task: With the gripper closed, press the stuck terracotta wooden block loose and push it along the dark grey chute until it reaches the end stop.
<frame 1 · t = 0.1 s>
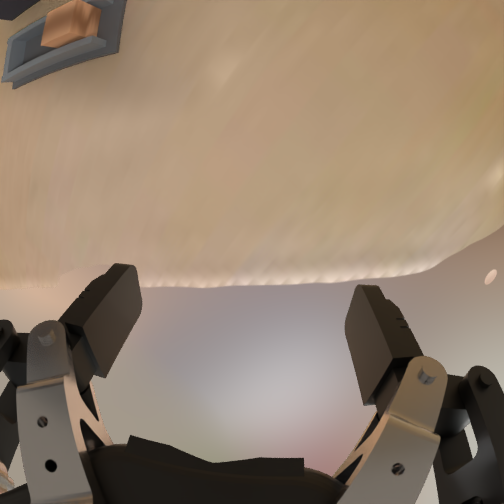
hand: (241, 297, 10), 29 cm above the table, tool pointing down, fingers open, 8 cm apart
chute: (61, 40, 26), on the table
block: (71, 25, 22), point 4 cm above the table, slide at 0.0 cm
dark grey upright box: (29, 4, 20), on the table
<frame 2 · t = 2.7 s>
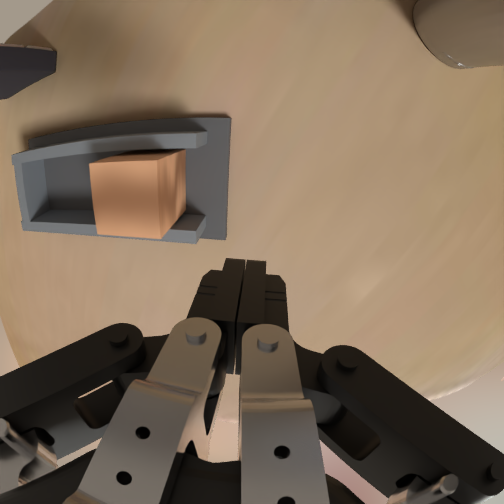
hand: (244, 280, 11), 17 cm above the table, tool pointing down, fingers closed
chute: (110, 178, 26), on the table
block: (141, 188, 22), point 4 cm above the table, slide at 0.0 cm
dark grey upright box: (31, 75, 20), on the table
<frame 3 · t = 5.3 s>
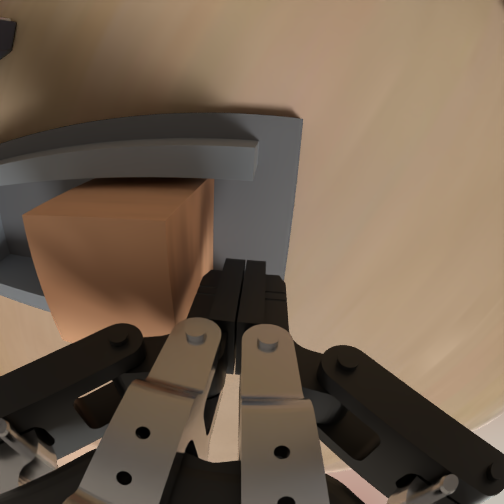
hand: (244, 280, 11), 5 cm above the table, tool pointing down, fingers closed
chute: (86, 214, 16), on the table
block: (134, 252, 12), point 4 cm above the table, slide at 0.1 cm, touching gripper
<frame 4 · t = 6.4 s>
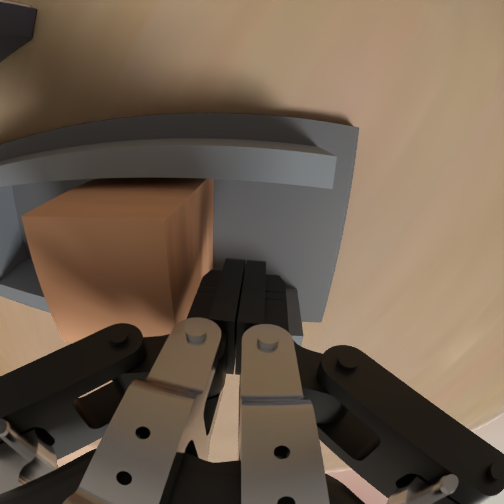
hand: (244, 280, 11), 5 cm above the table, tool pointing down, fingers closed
chute: (121, 216, 16), on the table
block: (133, 253, 12), point 4 cm above the table, slide at 3.0 cm, touching gripper
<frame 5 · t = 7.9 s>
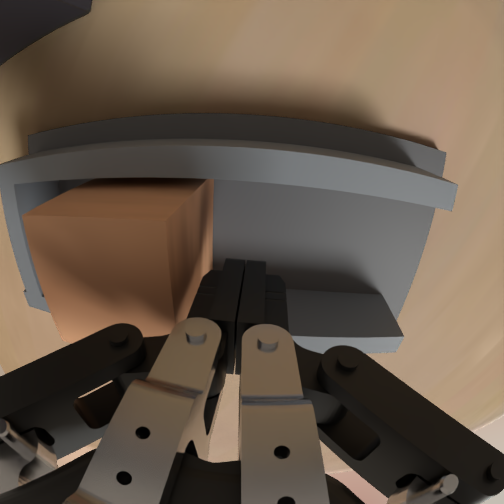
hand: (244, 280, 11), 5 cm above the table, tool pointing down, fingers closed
chute: (209, 221, 15), on the table
block: (133, 253, 12), point 4 cm above the table, slide at 8.7 cm, touching gripper
dark grey upright box: (39, 25, 9), on the table
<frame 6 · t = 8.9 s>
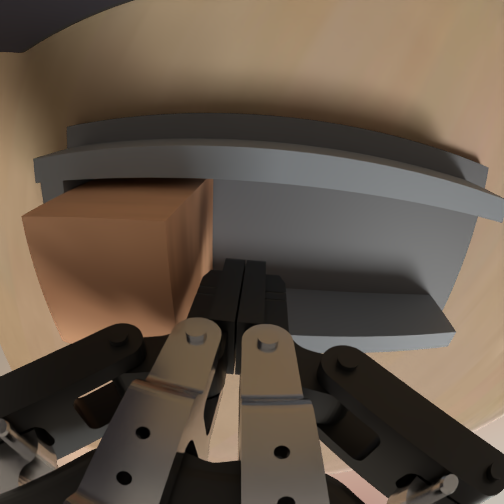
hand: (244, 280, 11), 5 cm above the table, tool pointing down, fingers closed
chute: (282, 227, 15), on the table
block: (133, 253, 12), point 4 cm above the table, slide at 12.7 cm, touching gripper
dark grey upright box: (78, 7, 9), on the table
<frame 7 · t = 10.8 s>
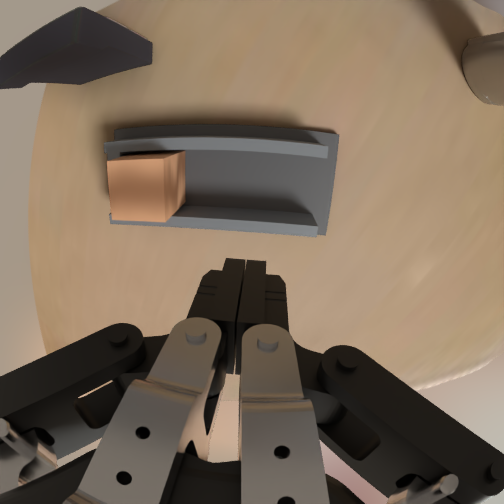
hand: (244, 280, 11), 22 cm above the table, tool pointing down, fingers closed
chute: (218, 175, 31), on the table
block: (149, 182, 27), point 4 cm above the table, slide at 12.7 cm
dark grey upright box: (114, 63, 24), on the table
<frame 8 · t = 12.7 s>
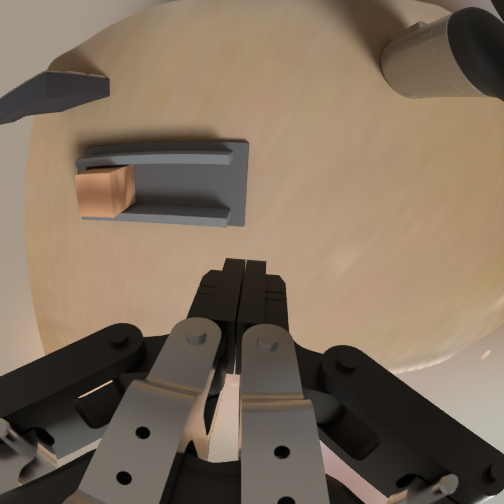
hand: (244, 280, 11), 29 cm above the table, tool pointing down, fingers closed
chute: (159, 181, 38), on the table
block: (106, 188, 34), point 4 cm above the table, slide at 12.7 cm
dark grey upright box: (84, 95, 32), on the table
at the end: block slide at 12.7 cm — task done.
